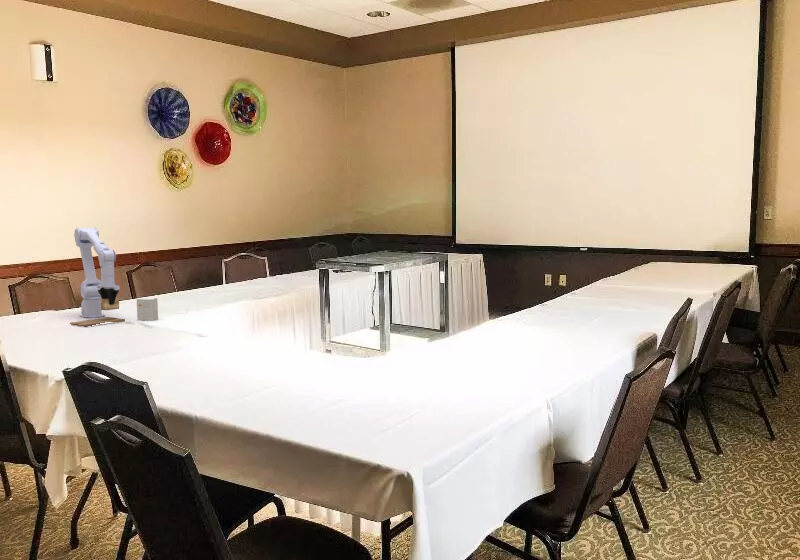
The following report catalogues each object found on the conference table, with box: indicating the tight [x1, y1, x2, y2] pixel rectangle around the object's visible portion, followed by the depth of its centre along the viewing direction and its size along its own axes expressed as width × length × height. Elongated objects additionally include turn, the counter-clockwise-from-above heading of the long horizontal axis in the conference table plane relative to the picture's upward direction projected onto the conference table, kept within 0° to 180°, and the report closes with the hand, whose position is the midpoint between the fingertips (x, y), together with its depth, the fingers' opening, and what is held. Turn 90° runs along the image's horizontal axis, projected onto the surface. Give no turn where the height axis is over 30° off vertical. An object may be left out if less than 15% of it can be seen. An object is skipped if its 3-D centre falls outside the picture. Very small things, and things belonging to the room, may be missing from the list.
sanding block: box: [100, 297, 120, 311], centre depth 310 cm, size 4×7×5 cm, turn 149°
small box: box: [136, 297, 159, 322], centre depth 315 cm, size 8×6×10 cm
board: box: [69, 316, 126, 328], centre depth 305 cm, size 12×20×1 cm, turn 149°
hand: (108, 304), depth 309 cm, fingers closed on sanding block, 4 cm apart
